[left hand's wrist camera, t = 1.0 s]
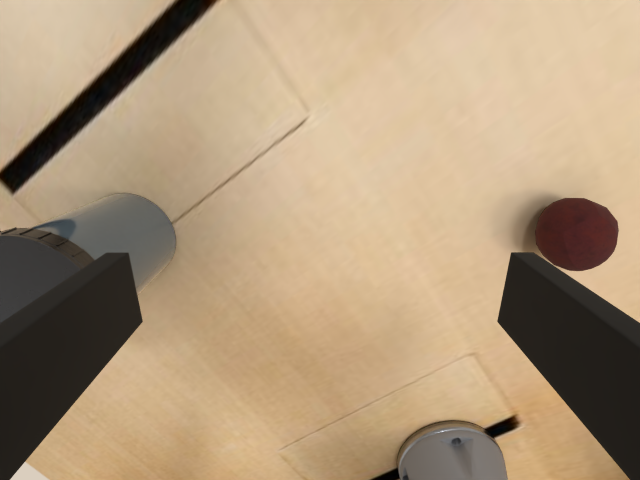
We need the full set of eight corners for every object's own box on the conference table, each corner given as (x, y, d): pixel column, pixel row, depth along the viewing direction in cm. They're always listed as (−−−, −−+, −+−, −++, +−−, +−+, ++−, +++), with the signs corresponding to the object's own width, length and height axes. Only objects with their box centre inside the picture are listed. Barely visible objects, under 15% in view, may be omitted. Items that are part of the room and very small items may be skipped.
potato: (536, 265, 42) (576, 293, 36) (510, 213, 40) (548, 233, 34) (596, 233, 41) (650, 256, 34) (573, 177, 39) (625, 191, 32)
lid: (4, 196, 26) (-18, 202, 24) (143, 286, 28) (131, 298, 26) (-53, 303, 29) (-77, 315, 27) (77, 376, 31) (63, 391, 29)
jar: (113, 174, 39) (-8, 211, 25) (193, 231, 41) (125, 295, 27) (70, 241, 42) (-61, 311, 27) (147, 291, 44) (63, 380, 30)
